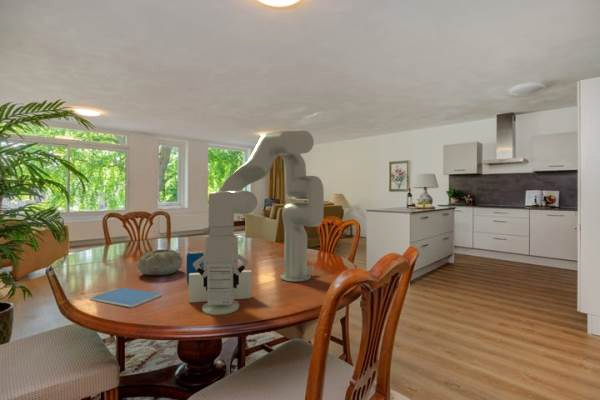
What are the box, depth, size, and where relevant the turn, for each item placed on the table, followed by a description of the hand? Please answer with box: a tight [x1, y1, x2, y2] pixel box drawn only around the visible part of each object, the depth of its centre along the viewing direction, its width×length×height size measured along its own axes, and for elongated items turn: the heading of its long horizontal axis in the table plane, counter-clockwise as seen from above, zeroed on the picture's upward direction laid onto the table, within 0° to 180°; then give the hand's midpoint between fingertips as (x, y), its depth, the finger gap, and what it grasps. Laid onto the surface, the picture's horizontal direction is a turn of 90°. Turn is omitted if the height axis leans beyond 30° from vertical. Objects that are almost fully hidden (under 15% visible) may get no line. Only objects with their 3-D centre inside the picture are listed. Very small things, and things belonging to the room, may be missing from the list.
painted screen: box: [188, 269, 252, 304], centre depth 103 cm, size 20×2×9 cm, turn 104°
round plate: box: [201, 299, 240, 316], centre depth 96 cm, size 11×11×1 cm
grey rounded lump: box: [136, 248, 183, 276], centre depth 134 cm, size 18×18×10 cm
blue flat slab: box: [89, 287, 162, 309], centre depth 104 cm, size 19×13×1 cm, turn 69°
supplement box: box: [206, 262, 235, 305], centre depth 95 cm, size 7×7×13 cm
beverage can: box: [186, 250, 205, 284], centre depth 122 cm, size 6×6×12 cm
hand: (221, 287), depth 96 cm, fingers closed on supplement box, 7 cm apart
